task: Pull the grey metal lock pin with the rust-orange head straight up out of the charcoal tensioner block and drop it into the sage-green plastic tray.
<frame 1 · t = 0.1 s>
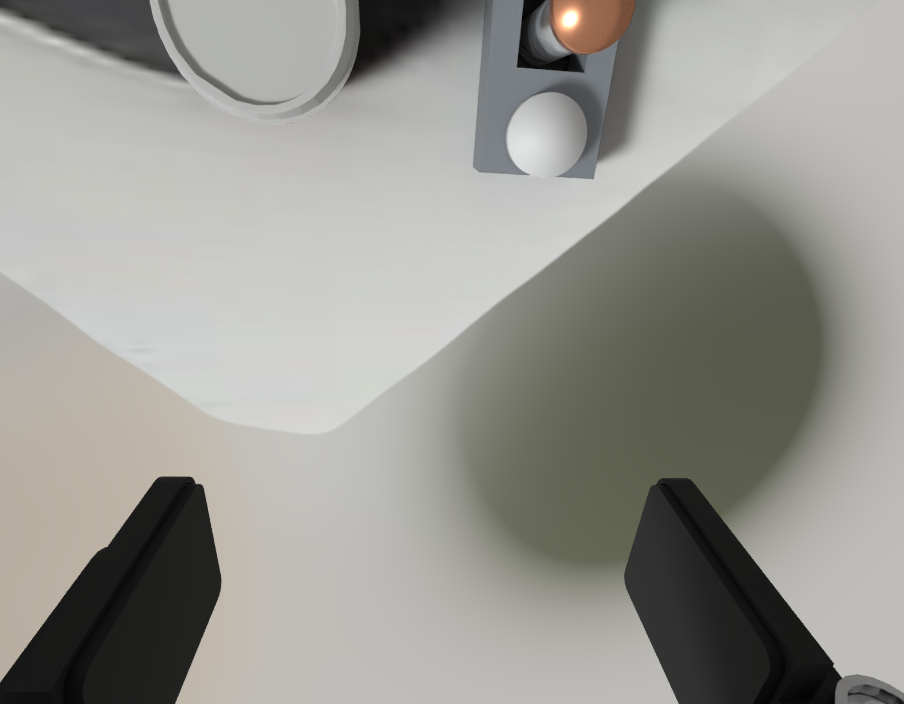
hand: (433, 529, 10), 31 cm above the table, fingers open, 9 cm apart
lock pin: (540, 38, 33), resting in tensioner block
tensioner block: (535, 80, 34), on the table
disposable coffee cup: (304, 45, 33), on the table
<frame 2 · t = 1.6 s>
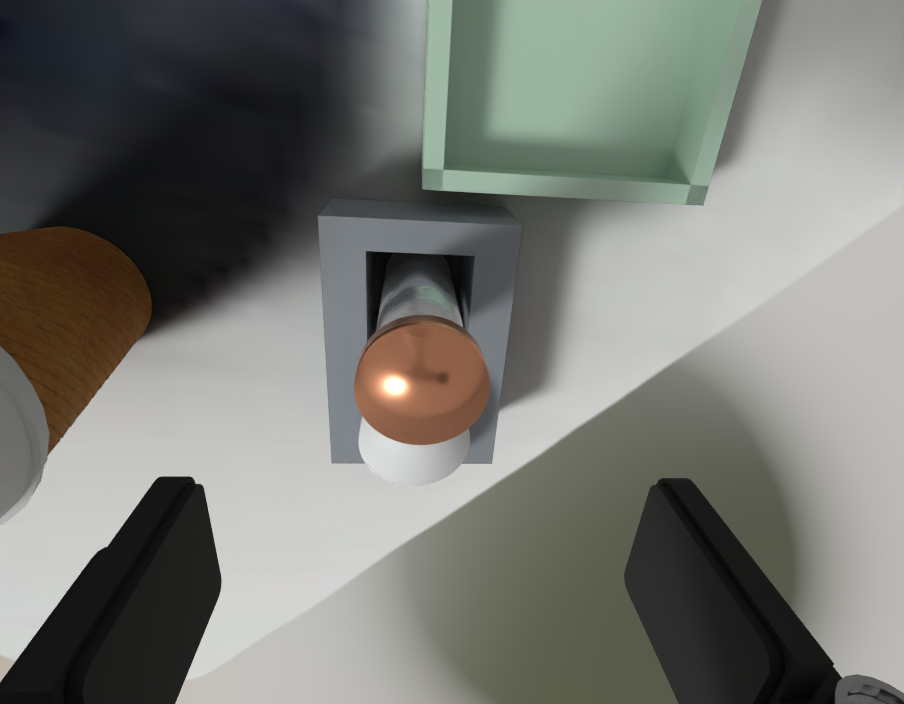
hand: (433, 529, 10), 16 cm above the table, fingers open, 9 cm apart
tray: (576, 6, 20), on the table
lock pin: (417, 275, 24), resting in tensioner block
tensioner block: (416, 321, 25), on the table
disposable coffee cup: (84, 290, 23), on the table
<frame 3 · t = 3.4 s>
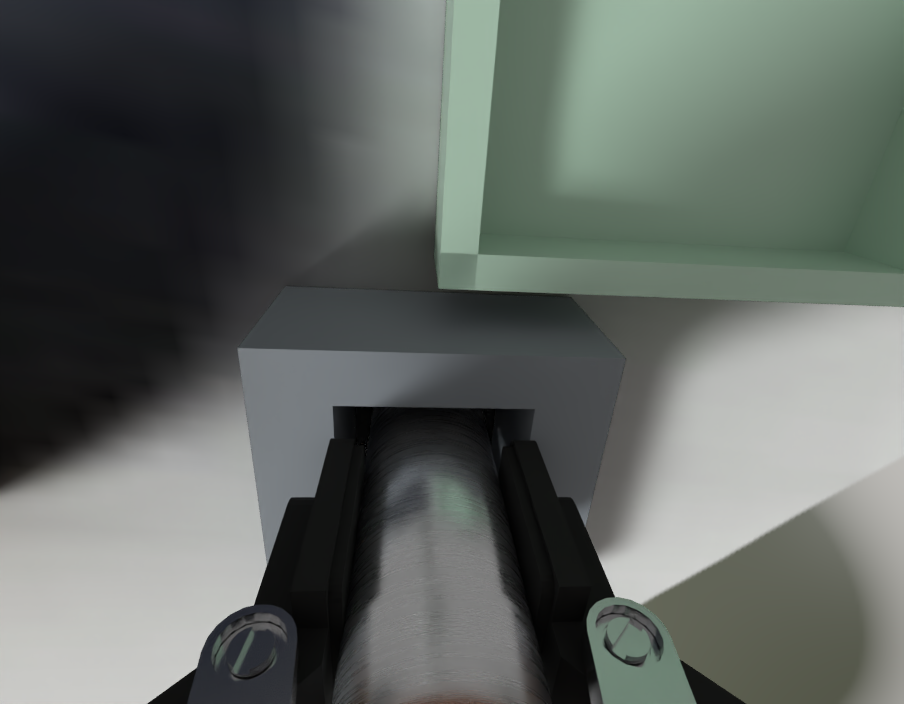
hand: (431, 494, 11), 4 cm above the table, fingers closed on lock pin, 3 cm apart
lock pin: (426, 399, 15), resting in tensioner block, touching gripper
tensioner block: (423, 464, 16), on the table
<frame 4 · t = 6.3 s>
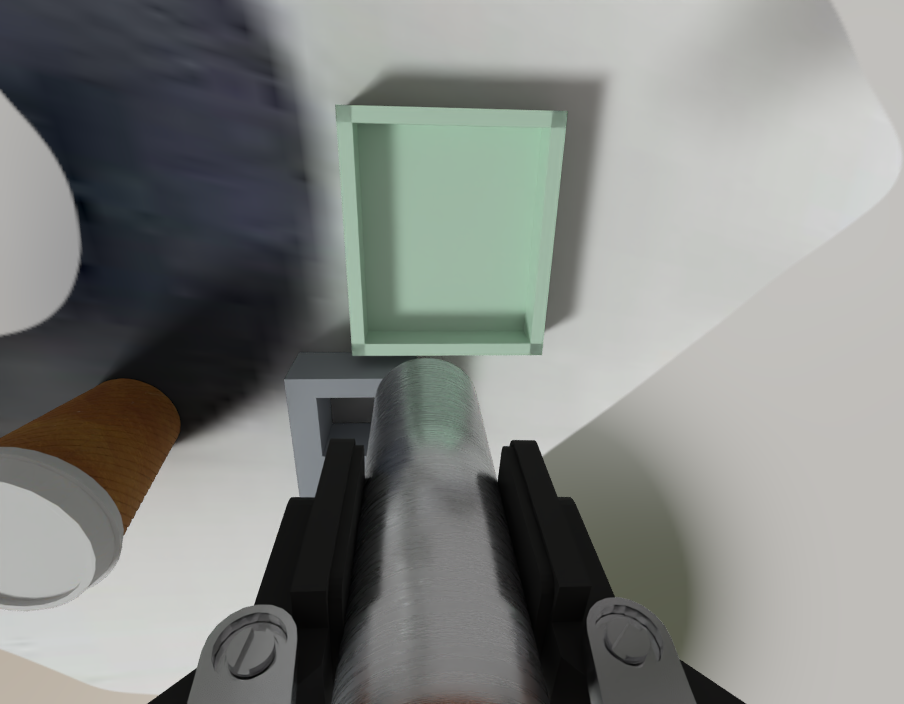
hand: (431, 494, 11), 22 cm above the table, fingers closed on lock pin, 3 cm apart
tray: (447, 235, 30), on the table
lock pin: (426, 404, 15), point 17 cm above the table, touching gripper
tensioner block: (363, 426, 36), on the table
disposable coffee cup: (135, 416, 34), on the table
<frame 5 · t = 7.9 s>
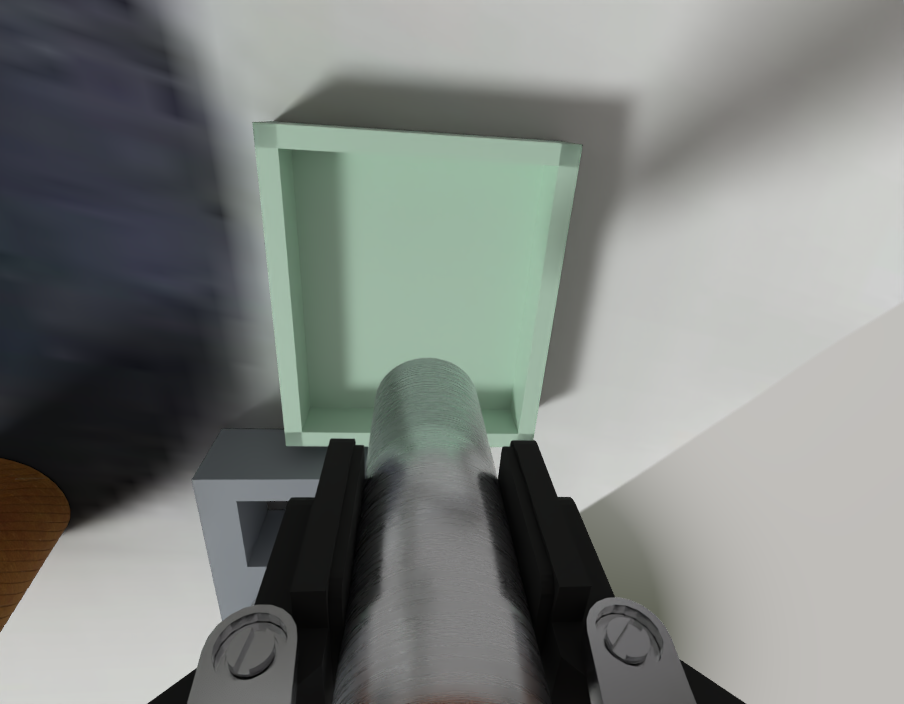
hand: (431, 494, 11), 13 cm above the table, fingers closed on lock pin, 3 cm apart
tray: (415, 291, 23), on the table
lock pin: (426, 403, 15), point 9 cm above the table, touching gripper
tensioner block: (306, 513, 29), on the table
disposable coffee cup: (10, 499, 27), on the table
when the fingers open (7 cm above the table, at t = 9.2 s): lock pin drops 2 cm, resting on tray.
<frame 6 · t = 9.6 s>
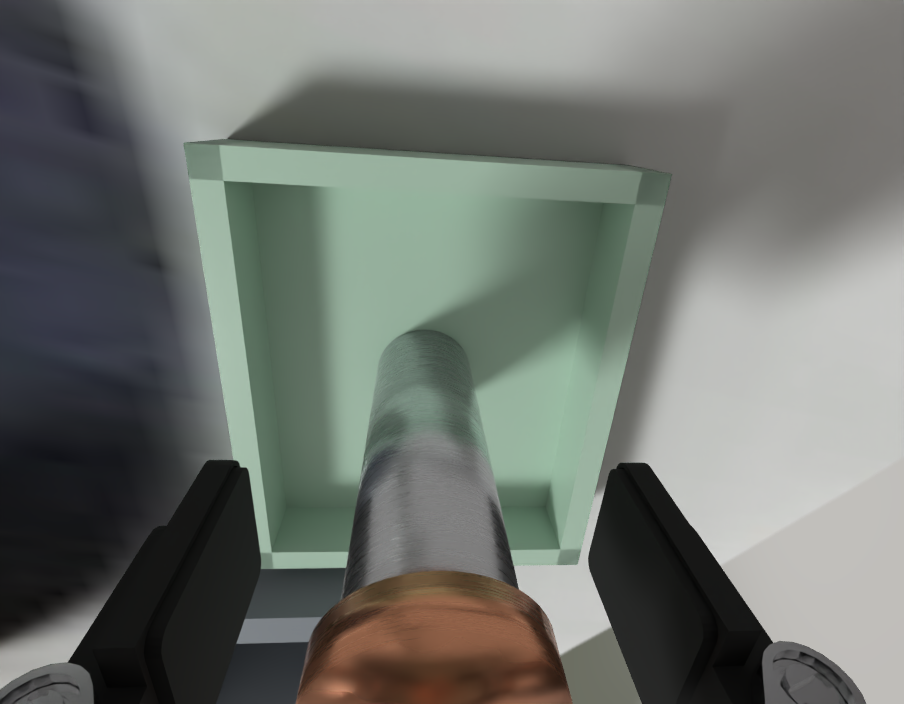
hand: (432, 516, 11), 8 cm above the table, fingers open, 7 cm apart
tray: (425, 362, 17), on the table
lock pin: (424, 371, 17), point 1 cm above the table, touching tray
tensioner block: (285, 625, 23), on the table
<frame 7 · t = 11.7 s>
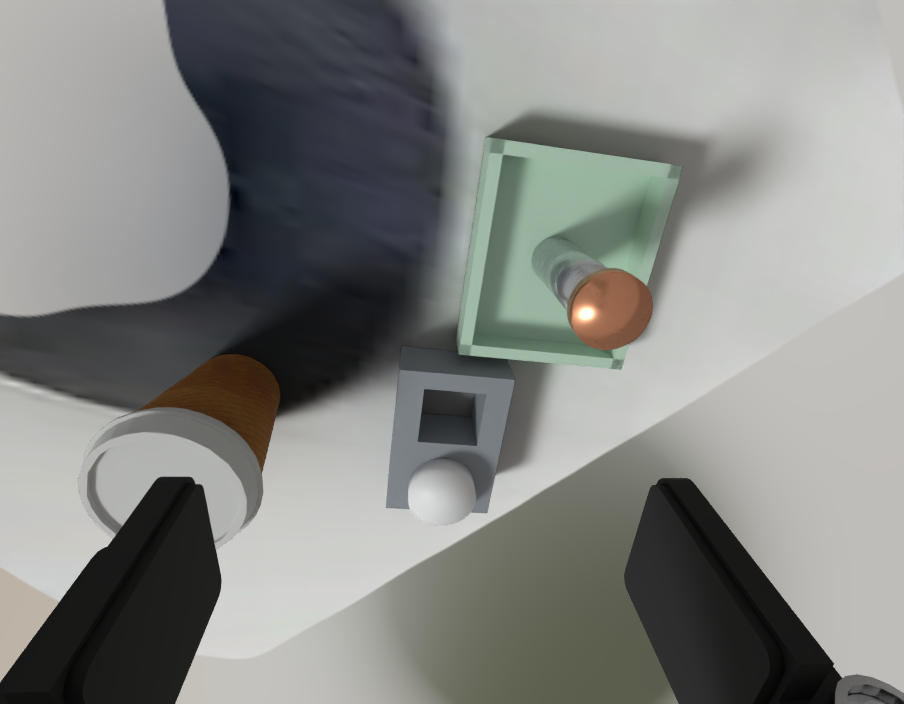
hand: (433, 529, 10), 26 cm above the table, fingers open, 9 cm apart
tray: (552, 256, 34), on the table
lock pin: (554, 259, 34), point 1 cm above the table, touching tray
tensioner block: (444, 418, 39), on the table
disposable coffee cup: (238, 389, 37), on the table
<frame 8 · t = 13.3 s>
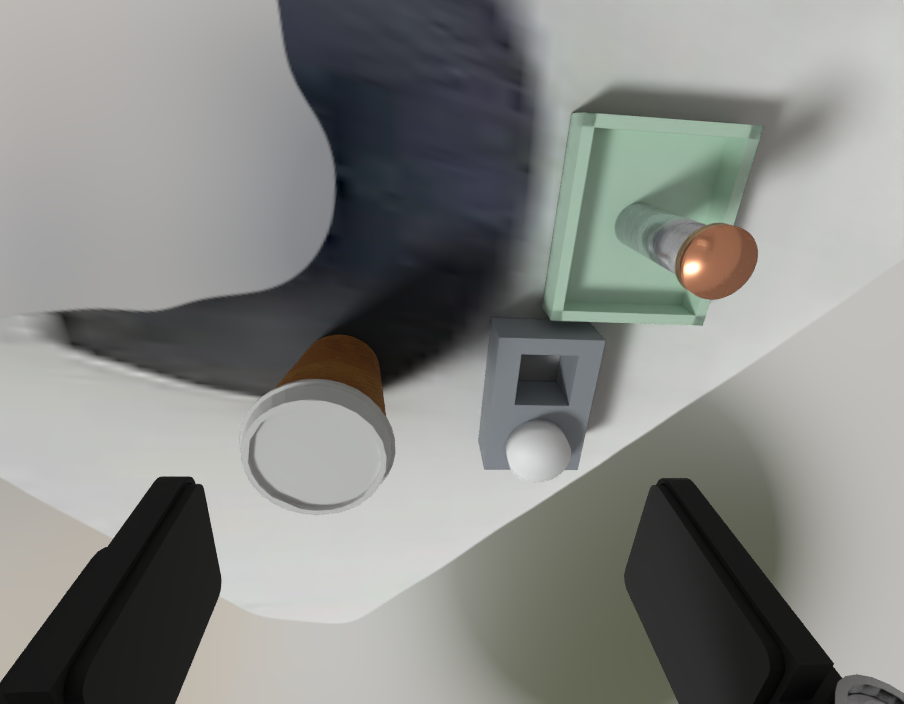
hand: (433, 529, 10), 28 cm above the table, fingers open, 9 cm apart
tray: (633, 222, 36), on the table
lock pin: (635, 224, 36), point 1 cm above the table, touching tray
tensioner block: (530, 384, 42), on the table
disposable coffee cup: (341, 368, 40), on the table
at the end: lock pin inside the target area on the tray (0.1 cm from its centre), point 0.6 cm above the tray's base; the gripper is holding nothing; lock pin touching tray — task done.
